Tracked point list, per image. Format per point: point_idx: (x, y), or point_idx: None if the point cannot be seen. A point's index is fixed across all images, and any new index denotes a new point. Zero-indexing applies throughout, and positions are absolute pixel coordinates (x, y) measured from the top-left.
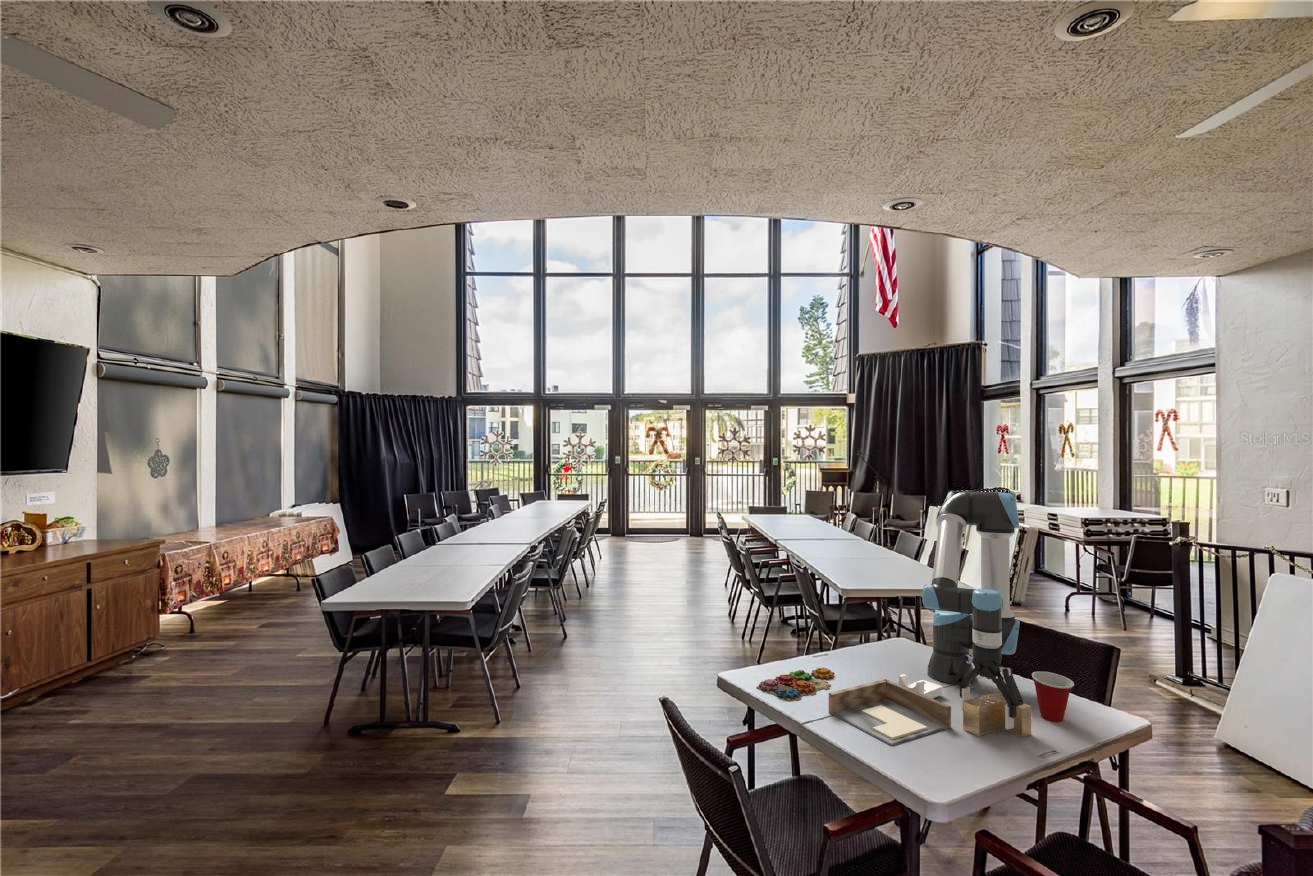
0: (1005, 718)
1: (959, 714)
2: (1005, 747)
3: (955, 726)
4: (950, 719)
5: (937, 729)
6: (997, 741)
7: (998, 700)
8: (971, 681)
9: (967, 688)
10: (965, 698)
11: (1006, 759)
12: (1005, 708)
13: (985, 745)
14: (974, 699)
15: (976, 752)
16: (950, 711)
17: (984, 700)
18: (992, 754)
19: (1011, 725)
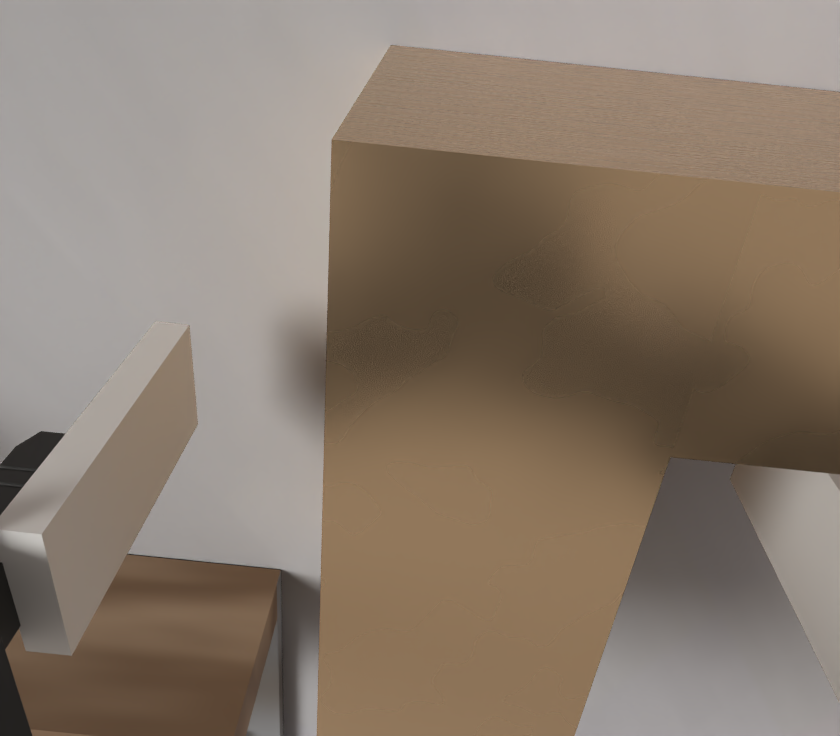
0: (778, 570)
1: (89, 271)
2: (761, 560)
3: (284, 528)
4: (263, 631)
5: (278, 692)
6: (670, 517)
7: (618, 485)
8: (15, 690)
9: (56, 593)
10: (133, 509)
11: (825, 692)
12: (835, 685)
13: (628, 628)
14: (355, 688)
15: (629, 732)
16: (243, 701)
17: (463, 630)
18: (722, 695)
19: None
